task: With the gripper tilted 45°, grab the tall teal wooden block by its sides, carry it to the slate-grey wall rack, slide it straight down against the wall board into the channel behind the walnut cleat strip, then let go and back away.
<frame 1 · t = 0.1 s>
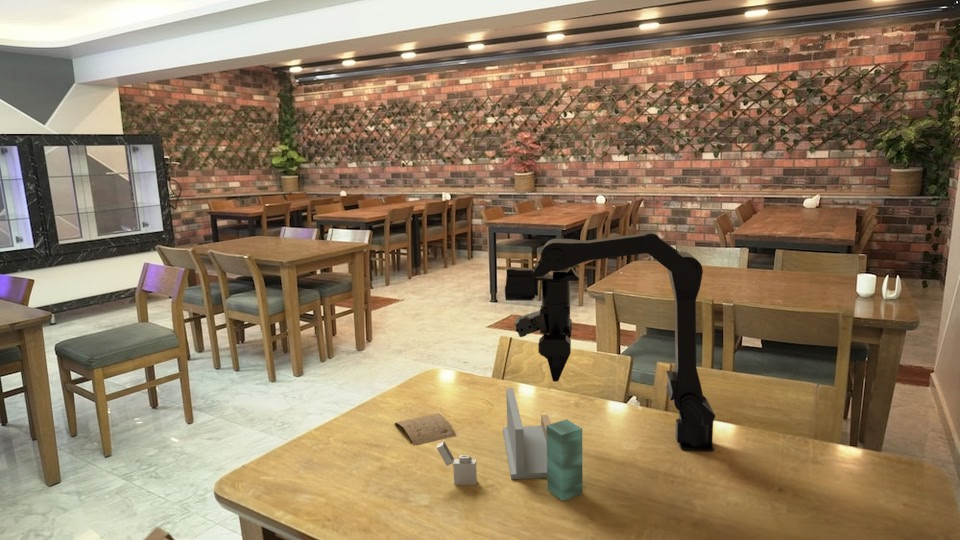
hand: (556, 373, 128), 15 cm above the table, tool pointing down, fingers open, 9 cm apart
clay tablet: (424, 433, 137), on the table
lighter: (457, 483, 114), on the table
teal block: (564, 491, 110), on the table
wall rack: (533, 452, 125), on the table
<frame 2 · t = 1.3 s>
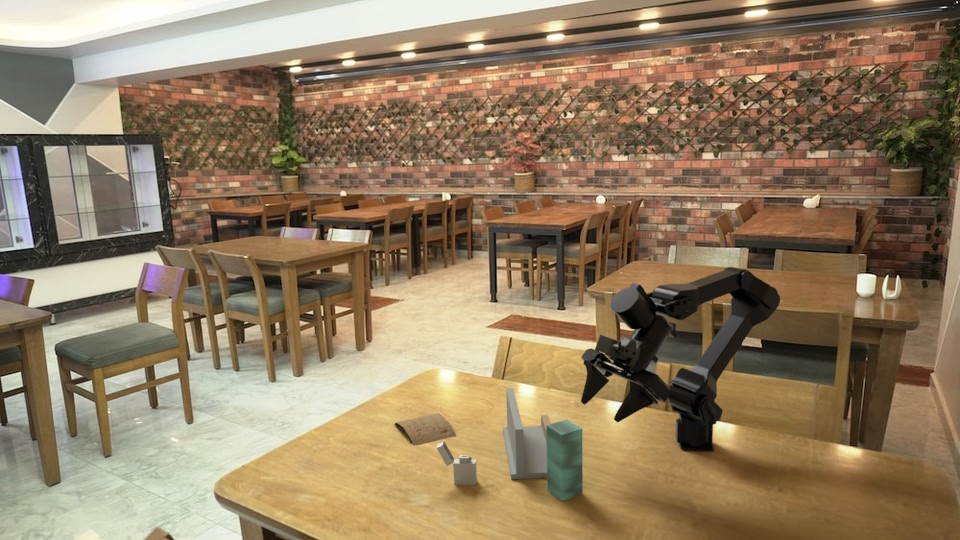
hand: (598, 411, 111), 13 cm above the table, tool tilted 45°, fingers open, 9 cm apart
nothing on the table moved.
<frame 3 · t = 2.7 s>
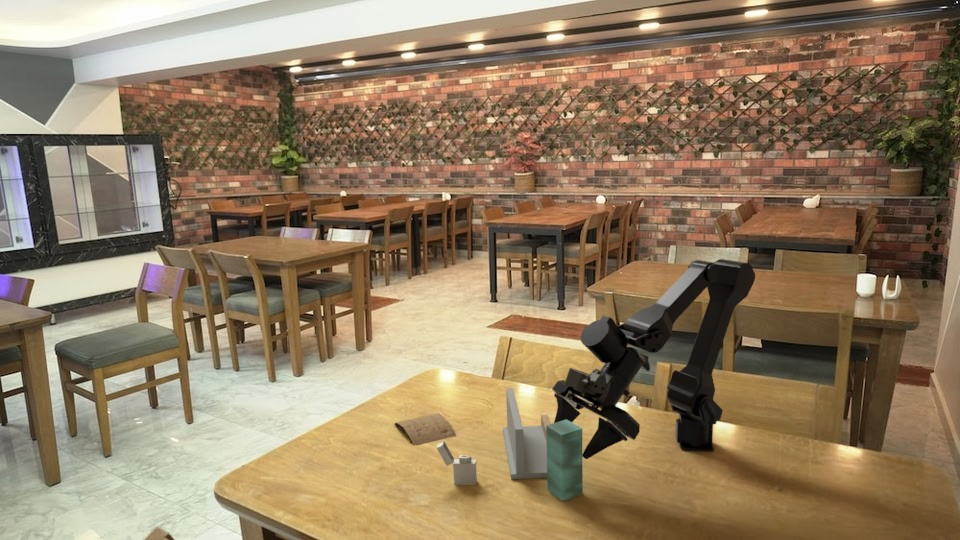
hand: (567, 447, 109), 8 cm above the table, tool tilted 45°, fingers open, 9 cm apart
nothing on the table moved.
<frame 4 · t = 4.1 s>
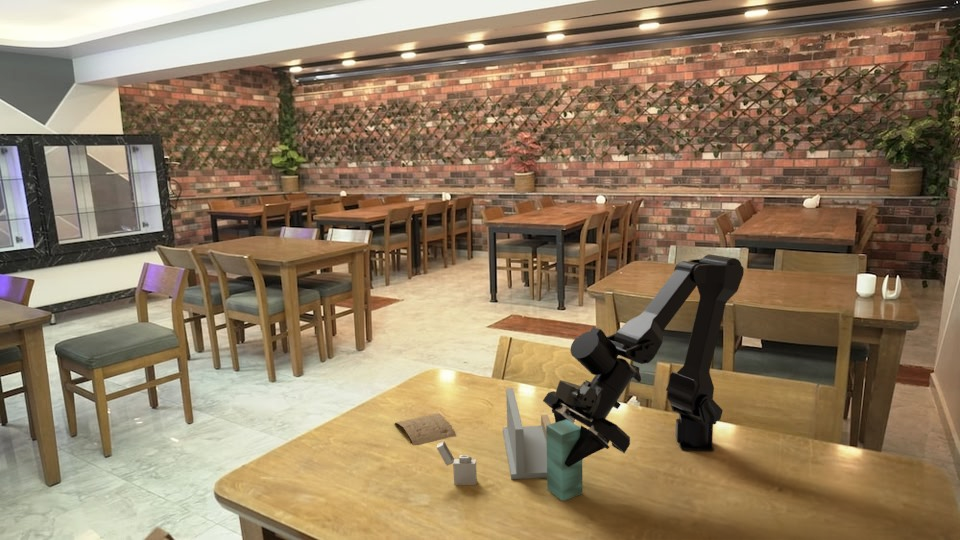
hand: (558, 459, 108), 7 cm above the table, tool tilted 45°, fingers closed on teal block, 4 cm apart
teal block: (564, 491, 110), on the table, touching gripper
everything else where it was.
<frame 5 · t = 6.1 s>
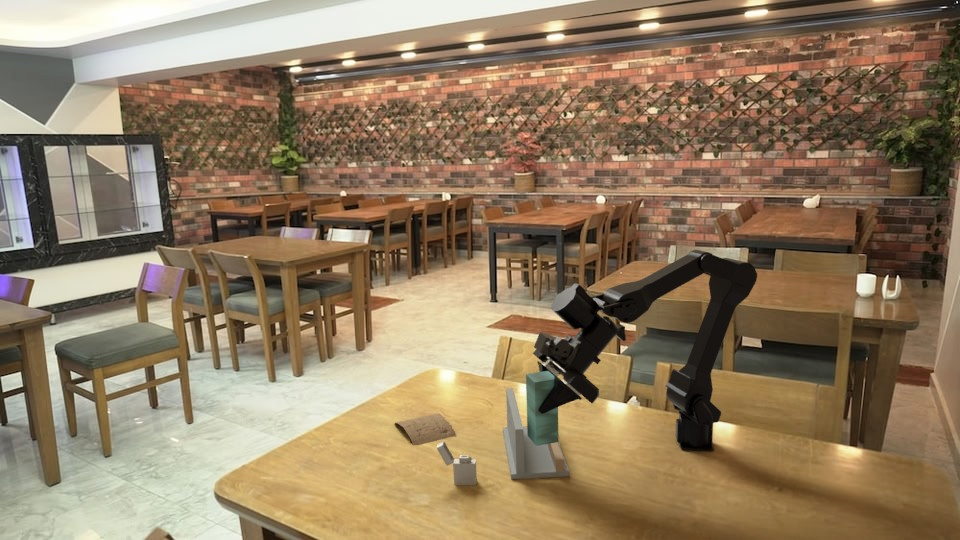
hand: (535, 407, 114), 13 cm above the table, tool tilted 45°, fingers closed on teal block, 4 cm apart
teal block: (542, 438, 115), point 7 cm above the table, touching gripper
everything else where it was.
when the fingers open (9 cm above the table, at t = 8.2 s): teal block drops 1 cm, resting on wall rack.
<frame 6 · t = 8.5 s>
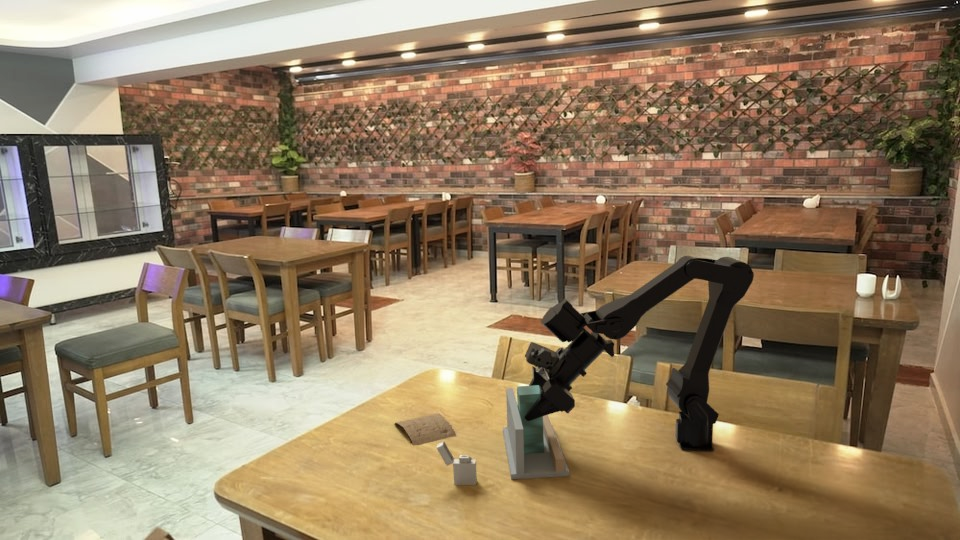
hand: (523, 411, 123), 9 cm above the table, tool tilted 45°, fingers open, 7 cm apart
teal block: (531, 447, 124), point 1 cm above the table, touching wall rack
everything else where it was.
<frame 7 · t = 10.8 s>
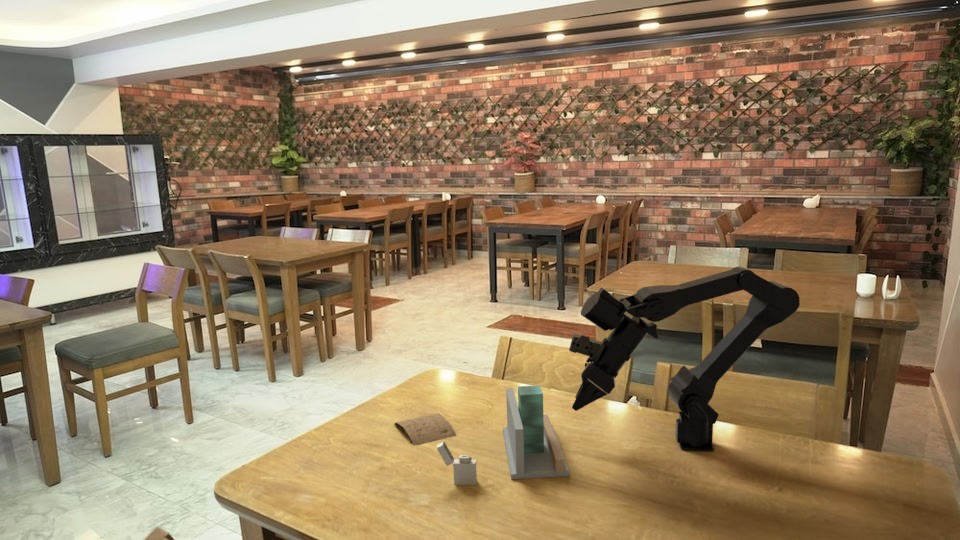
hand: (575, 404, 123), 10 cm above the table, tool tilted 35°, fingers open, 9 cm apart
nothing on the table moved.
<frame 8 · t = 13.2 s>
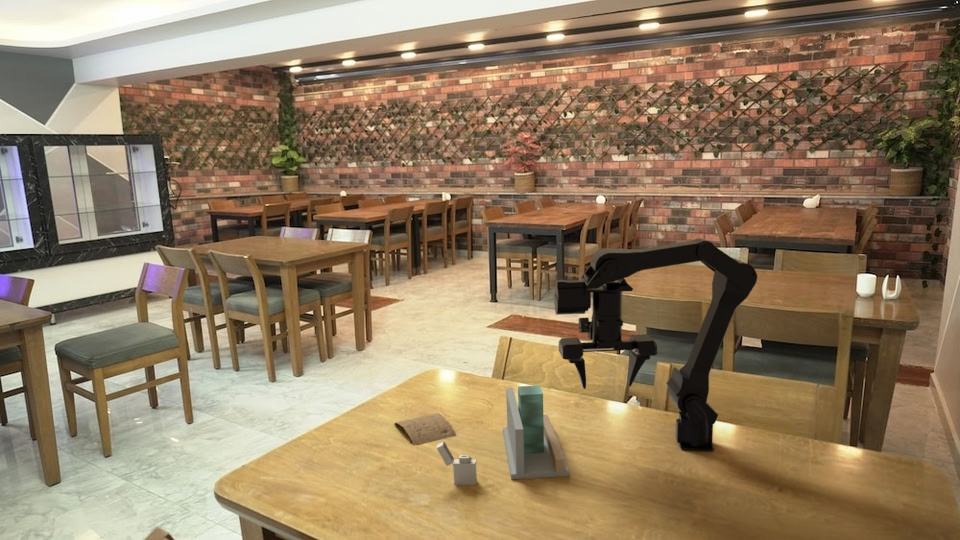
hand: (606, 387, 123), 13 cm above the table, tool pointing down, fingers open, 9 cm apart
nothing on the table moved.
at the end: teal block 0.1 cm off-centre on the wall rack, point 1.0 cm above the wall rack's base; teal block tilted 0°; the gripper is holding nothing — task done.
